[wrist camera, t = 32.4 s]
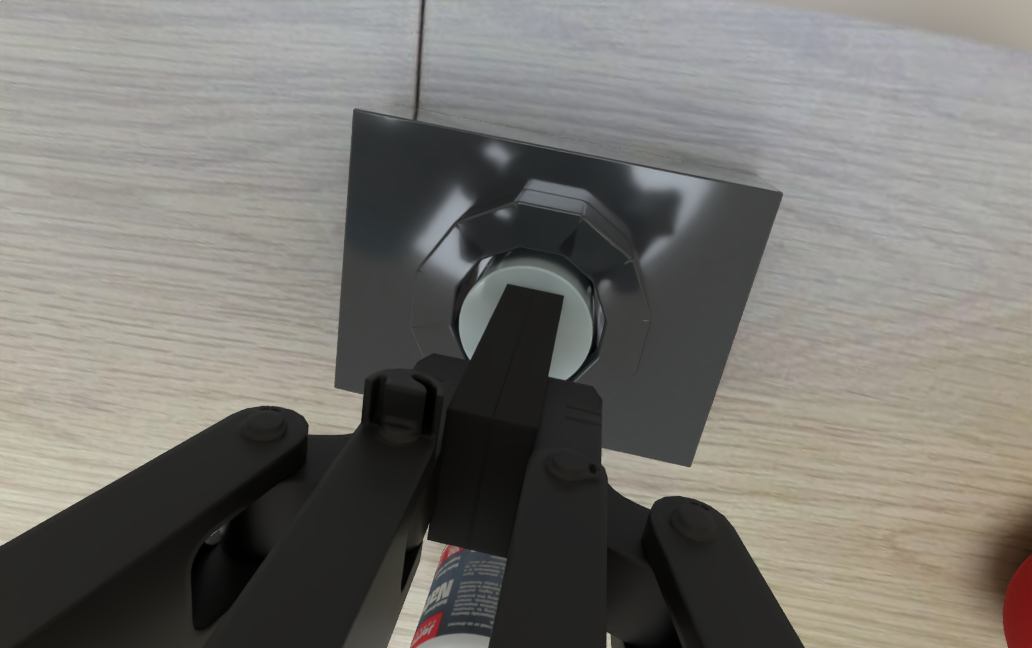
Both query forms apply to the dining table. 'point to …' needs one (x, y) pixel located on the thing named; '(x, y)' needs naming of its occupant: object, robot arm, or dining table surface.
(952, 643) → the dining table surface
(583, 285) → the grey short cylinder
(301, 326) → the dining table surface
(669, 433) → the push button box
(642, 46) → the dining table surface
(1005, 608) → the christmas ornament
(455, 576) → the pill bottle
